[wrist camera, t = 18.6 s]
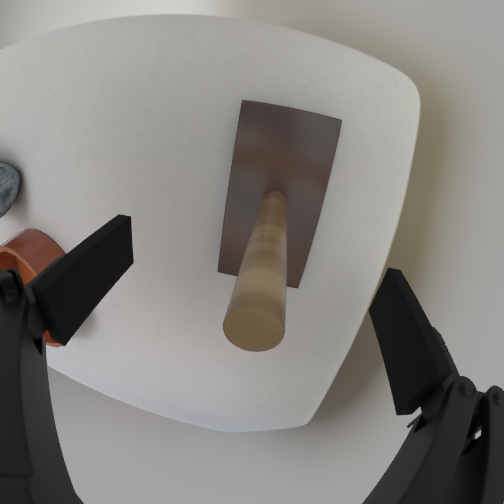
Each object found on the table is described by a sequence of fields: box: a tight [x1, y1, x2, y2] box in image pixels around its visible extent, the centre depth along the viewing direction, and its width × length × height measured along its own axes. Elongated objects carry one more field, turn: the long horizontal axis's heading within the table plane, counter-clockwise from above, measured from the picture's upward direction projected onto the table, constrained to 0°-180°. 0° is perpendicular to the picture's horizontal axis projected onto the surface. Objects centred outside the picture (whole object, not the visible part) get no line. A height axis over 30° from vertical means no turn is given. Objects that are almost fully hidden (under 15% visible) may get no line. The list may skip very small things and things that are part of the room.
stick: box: [223, 191, 287, 352], centre depth 16 cm, size 2×2×15 cm
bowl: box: [0, 229, 65, 347], centre depth 31 cm, size 18×18×6 cm
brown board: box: [218, 100, 342, 288], centre depth 23 cm, size 16×8×2 cm, turn 171°
